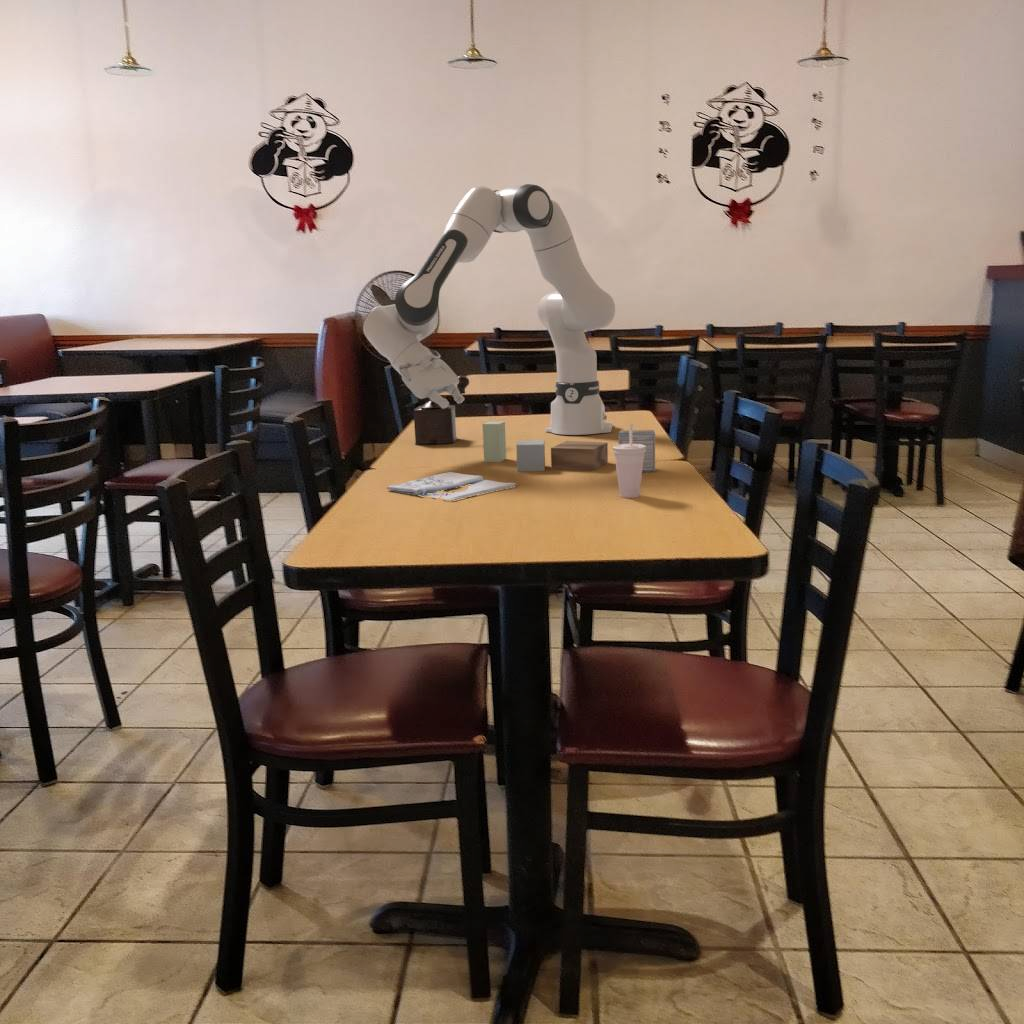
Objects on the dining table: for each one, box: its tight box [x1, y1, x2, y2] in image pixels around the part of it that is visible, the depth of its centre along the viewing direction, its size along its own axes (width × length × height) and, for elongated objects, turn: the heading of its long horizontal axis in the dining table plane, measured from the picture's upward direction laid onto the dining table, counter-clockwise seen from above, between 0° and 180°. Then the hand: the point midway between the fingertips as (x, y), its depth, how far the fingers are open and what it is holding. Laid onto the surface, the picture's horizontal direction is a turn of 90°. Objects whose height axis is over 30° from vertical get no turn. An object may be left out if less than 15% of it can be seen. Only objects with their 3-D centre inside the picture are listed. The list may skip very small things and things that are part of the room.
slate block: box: [516, 439, 546, 472], centre depth 215 cm, size 6×6×6 cm
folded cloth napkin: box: [386, 471, 517, 501], centre depth 196 cm, size 19×20×2 cm
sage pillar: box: [482, 420, 507, 463], centre depth 227 cm, size 4×4×9 cm
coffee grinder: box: [413, 375, 470, 446], centre depth 258 cm, size 16×11×18 cm
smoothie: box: [612, 423, 646, 499], centre depth 182 cm, size 6×6×14 cm
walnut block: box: [550, 440, 609, 471], centre depth 217 cm, size 10×10×5 cm
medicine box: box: [618, 429, 656, 473], centre depth 208 cm, size 8×4×9 cm, turn 84°
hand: (454, 404), depth 228 cm, fingers open, 8 cm apart
